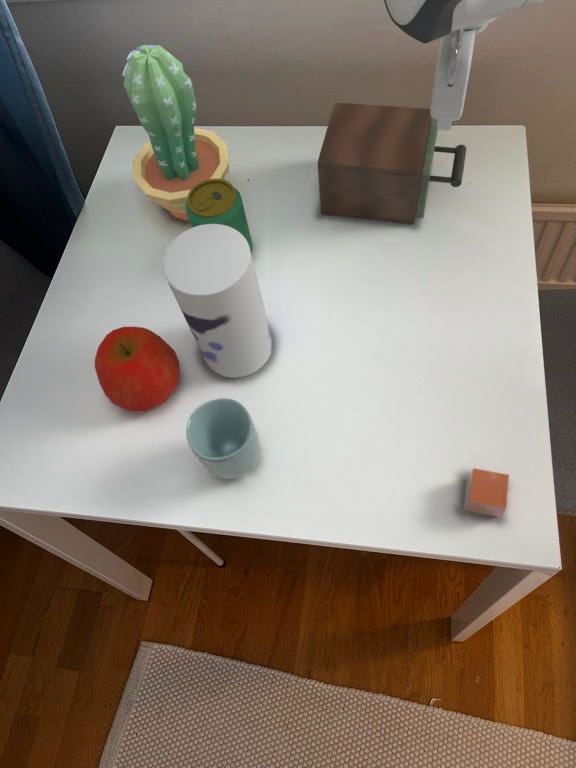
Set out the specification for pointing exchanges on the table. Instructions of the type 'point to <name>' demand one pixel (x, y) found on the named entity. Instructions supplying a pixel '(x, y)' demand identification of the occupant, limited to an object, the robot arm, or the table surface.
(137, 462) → the table surface
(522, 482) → the table surface
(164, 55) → the potted cactus
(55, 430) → the table surface
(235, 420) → the cup
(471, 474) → the block
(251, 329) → the container
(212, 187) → the beverage can
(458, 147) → the drawer
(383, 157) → the cabinet
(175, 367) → the apple
